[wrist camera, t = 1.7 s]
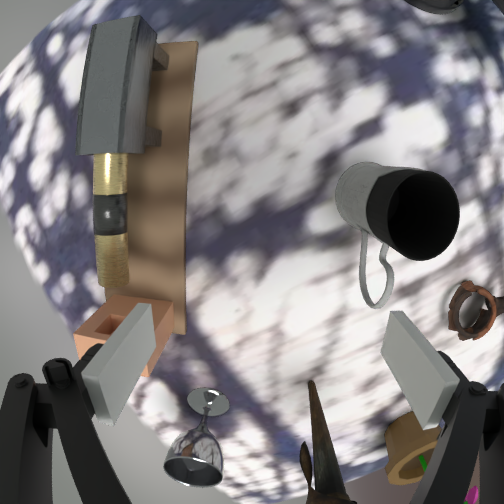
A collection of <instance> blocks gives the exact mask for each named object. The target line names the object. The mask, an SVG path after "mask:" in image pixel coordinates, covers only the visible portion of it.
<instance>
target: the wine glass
mask: <svg viewBox="0 0 504 504" xmlns="http://www.w3.org/2000/svg"><path fill="white" fill-rule="evenodd" d="M187 402H188V405H189V407H190V408H191V409H192V410H193V411H194V412H196V413H197V414H199V415H202V416H203V417H202V419H201V422H200V424H199V425H198V426H197V427H196V428H194V429H191V430H188V431H185V432H183V433H181V434H180V435H179V436H178V437H177V438H176V439H175V440H174V442H173V443H172V445H171V447H170V449H169V451H168V453H167V456H166V458H165V462H164V466H163V467H164V471H165V472H166V474H167V475H168V476H169V477H171V478H172V479H174V480H175V481H177V482H179V483H182V484H185V485H188V486H192V487H202V488H203V487H212V486H215V485H218V484H219V483H220V482H221V481H222V478H223V472H224V455H223V449H222V446H221V444H220V442H219V441H218V440H217V438H216V437H215V436H214V435H212V434H211V433H210V432H209V430H208V427H207V419H208V417H219V416H222V415H224V414H225V413H226V412H227V411H228V409H229V407H230V403H229V400H228V398H227V397H226V396H225V395H224V394H223V393H221V392H220V391H218V390H215V389H212V388H197V389H194V390H193V391H191V392H190V393H189V395H188V397H187Z"/></svg>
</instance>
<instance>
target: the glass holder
mask: <svg viewBox="0 0 504 504" xmlns="http://www.w3.org/2000/svg"><path fill="white" fill-rule="evenodd" d="M336 205H337V208H338V211H339V213H340V215H341V216H342V218H343V219H344V220H345V221H346V222H347V223H348V224H349V225H351V226H352V227H354V228H356V229H359V230H361V231H362V243H361V254H360V266H359V280H360V287H361V292H362V295H363V298H364V300H365V302H366V303H367V305H369V306H370V307H371V308H374V309H379V308H381V307H383V306H384V305H385V304H386V302H387V301H388V299H389V297H390V295H391V293H392V290H393V286H394V272H393V269H392V267H391V266H390V264H389V263H388V262H387V261H386V254H387V251H388V248H389V246H390V247H392V248H393V249H395V250H396V251H397V252H399V253H400V254H402V255H403V256H405V257H407V258H409V259H412V260H416V261H424V260H429V259H432V258H435V257H436V256H438V255H440V254H441V253H442V252H443V251H444V250H446V248H447V247H448V246H449V245H450V243H451V242H452V240H453V239H454V236H455V234H456V232H457V228H458V225H459V218H460V209H459V202H458V199H457V195H456V193H455V191H454V189H453V187H452V186H451V185H450V183H449V182H448V181H447V180H446V179H445V178H444V177H442V176H441V175H439V174H437V173H434V172H430V171H425V170H422V169H418V168H409V167H390V166H381V165H379V164H376V163H372V162H362V163H358V164H356V165H354V166H352V167H350V168H349V169H348V170H346V171H345V173H344V174H343V175H342V176H341V178H340V180H339V182H338V184H337V188H336ZM368 233H369V234H370V235H371V236H373V237H374V238H376V239H377V240H379V241H380V242H381V243H383V245H382V248H381V251H380V255H379V260H380V262H381V264H382V265H383V266H384V268H385V269H386V273H387V282H386V288H385V291H384V293H383V295H382V297H381V298H380V300H379V301H378V302H377V303H376V304H374V303H373V302H372V300H371V298H370V297H369V293H368V290H367V285H366V275H365V270H366V254H367V241H368Z"/></svg>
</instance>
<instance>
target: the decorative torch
mask: <svg viewBox="0 0 504 504" xmlns="http://www.w3.org/2000/svg"><path fill="white" fill-rule="evenodd" d="M308 389H309V400H310V413H311V426H312V442H313V458H314V477H315V490H314V489H313V488H312V487H311V482H312V463H311V457H310V454H309V450H308V447H307V445H306V442H305V441H304V442H303V444H302V445H301V450H300V464H301V468H302V470H303V473H304V475H305V478H306V480H307V483H308V497H307V501H306V504H357V502H355V501H351V500H350V499H349V496H348V495H347V494H346V491H345V487H344V483H343V479H342V476H341V472H340V469H339V465H338V462H337V458H336V455H335V451H334V448H333V444H332V441H331V437H330V434H329V430H328V427H327V424H326V420H325V417H324V413H323V410H322V407H321V403H320V400H319V397H318V393H317V390H316V386H315V383H314V382H313V381H310V382H309V383H308Z"/></svg>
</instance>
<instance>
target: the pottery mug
mask: <svg viewBox="0 0 504 504" xmlns="http://www.w3.org/2000/svg"><path fill="white" fill-rule="evenodd" d="M471 292H477V293H478V294H480V295H483V296H485V304H486V306H487V308H488V310H485V309H481V311H480V315H479V318H478V319H477V321H476V323H475V324H474V325H473V326H472V327H469V328H467V329H463V328H462V327H461V325H460V323H459V310H460V308H461V305H462V304H463V302H464V301H465V300H466V299H467V298H468V297H469V296H471V295H472V293H471ZM449 308H450V310H449V312H448V317H449V328H448V329H450V330H453V331H458V332H459V333H458V337H459V339H460V340H462V341H464V340H468V339H470V338H473V340H477V339H479V338H481V337H483V336H484V335H485V334H486V333H487V332H488V331H489V330H490V328H491V327H492V325H493V323H494V321H495V319H496V317H497V316H498V315H500V314H502V313H504V296H503V297H495V296H492V295H491V294H490V293H489V291H487V290H486V289H484V288H483V287H481V286H477V285H474V284H473V283H472V281H465V282H462V284H461V286H460V287H459V288H458V289H457V291H456V292H455V294H454V296H453V298H452V300H451V302H450V305H449Z"/></svg>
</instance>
